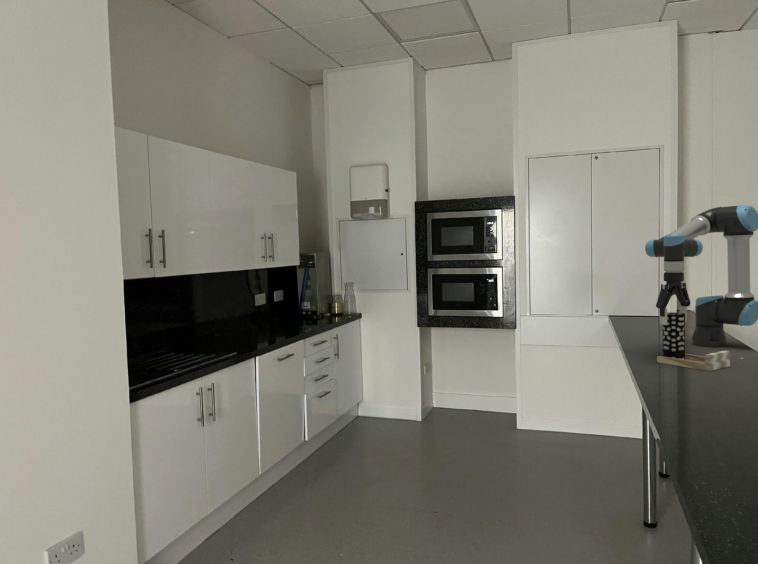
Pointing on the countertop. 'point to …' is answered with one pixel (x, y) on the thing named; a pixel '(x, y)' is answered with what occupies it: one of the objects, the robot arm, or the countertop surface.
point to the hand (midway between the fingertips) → (673, 323)
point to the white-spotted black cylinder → (674, 336)
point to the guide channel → (700, 361)
